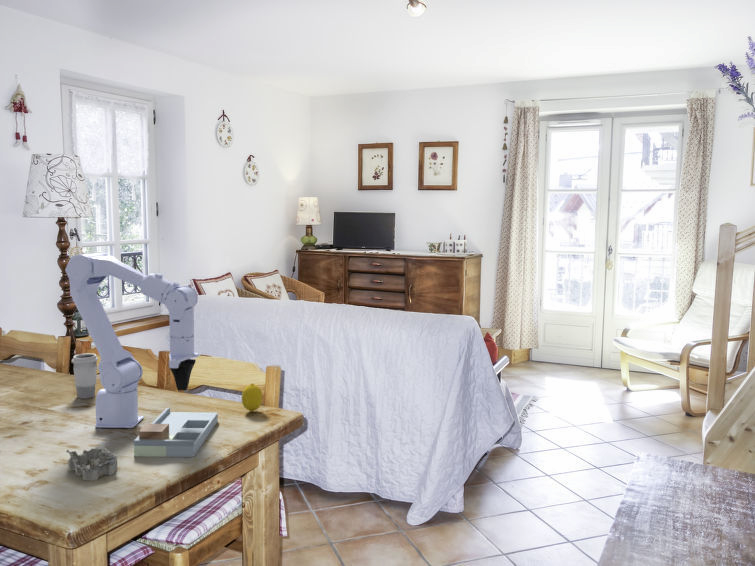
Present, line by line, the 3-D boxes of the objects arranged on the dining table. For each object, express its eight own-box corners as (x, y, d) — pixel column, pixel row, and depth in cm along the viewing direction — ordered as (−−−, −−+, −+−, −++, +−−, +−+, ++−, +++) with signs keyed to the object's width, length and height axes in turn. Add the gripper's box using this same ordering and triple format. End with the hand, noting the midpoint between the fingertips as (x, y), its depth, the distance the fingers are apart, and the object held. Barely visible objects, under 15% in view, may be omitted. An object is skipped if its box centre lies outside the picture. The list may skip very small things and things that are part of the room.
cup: (91, 391, 179) (90, 351, 178) (104, 395, 175) (103, 355, 174) (67, 396, 173) (66, 356, 172) (80, 401, 169) (78, 359, 168)
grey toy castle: (64, 468, 126) (63, 449, 126) (101, 458, 132) (100, 440, 131) (83, 484, 119) (83, 464, 118) (121, 473, 124) (121, 454, 124)
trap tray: (134, 456, 133) (133, 440, 132) (167, 420, 155) (166, 407, 155) (193, 456, 133) (193, 441, 133) (217, 421, 156) (217, 408, 155)
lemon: (257, 416, 161) (257, 387, 160) (238, 414, 162) (238, 385, 161) (265, 409, 166) (265, 381, 165) (246, 408, 167) (246, 380, 166)
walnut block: (139, 444, 133) (139, 431, 133) (147, 436, 138) (147, 423, 138) (162, 444, 133) (162, 431, 133) (169, 436, 138) (169, 423, 138)
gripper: (190, 342, 141) (190, 398, 142) (205, 330, 155) (205, 381, 157) (159, 341, 141) (160, 398, 142) (178, 330, 155) (178, 381, 157)
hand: (182, 389), depth 149 cm, fingers closed
